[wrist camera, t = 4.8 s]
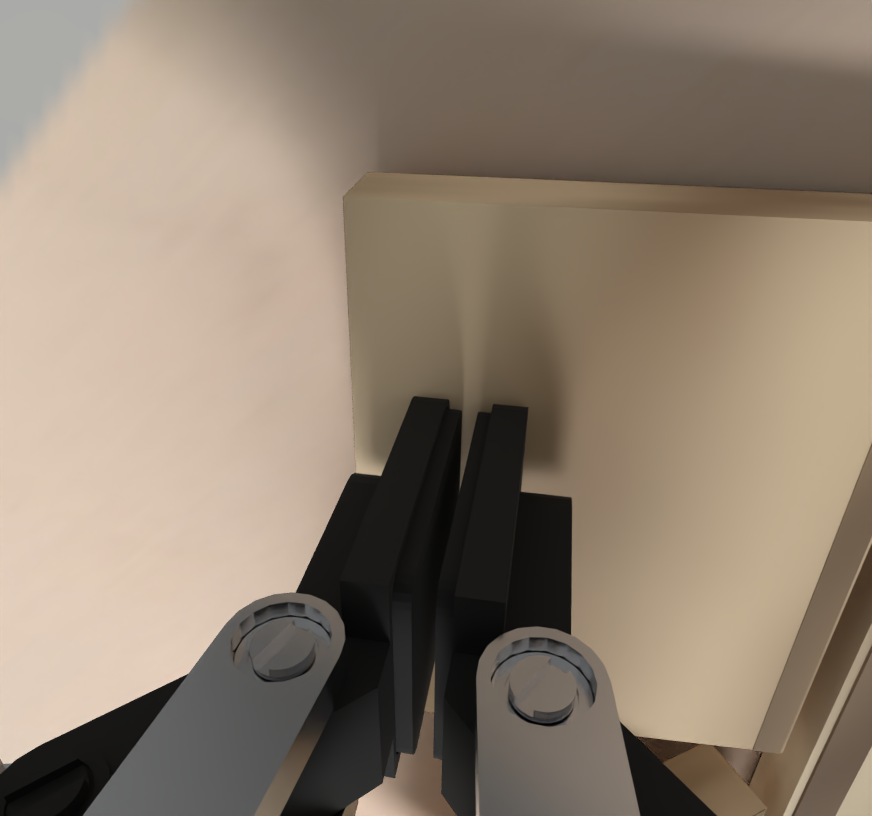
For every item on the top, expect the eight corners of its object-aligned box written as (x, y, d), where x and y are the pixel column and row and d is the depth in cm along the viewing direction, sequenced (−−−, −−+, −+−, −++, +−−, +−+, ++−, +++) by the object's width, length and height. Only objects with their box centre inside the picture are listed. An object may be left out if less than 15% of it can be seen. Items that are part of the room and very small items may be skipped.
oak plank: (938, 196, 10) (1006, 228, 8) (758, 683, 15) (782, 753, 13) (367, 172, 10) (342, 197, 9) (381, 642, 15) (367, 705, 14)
